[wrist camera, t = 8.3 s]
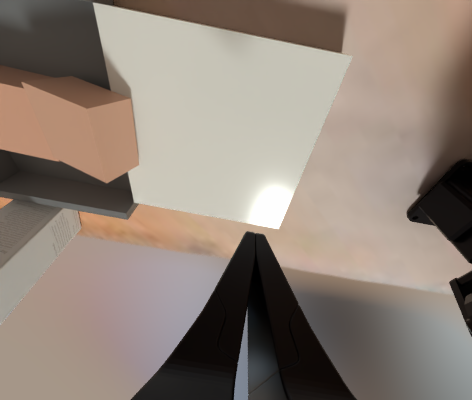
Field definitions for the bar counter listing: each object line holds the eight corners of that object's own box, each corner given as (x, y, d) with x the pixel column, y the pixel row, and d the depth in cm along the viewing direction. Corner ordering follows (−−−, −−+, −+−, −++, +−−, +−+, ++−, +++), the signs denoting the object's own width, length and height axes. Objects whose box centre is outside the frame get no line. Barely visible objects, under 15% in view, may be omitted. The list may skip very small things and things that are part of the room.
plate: (341, 52, 13) (352, 56, 11) (277, 214, 22) (278, 228, 20) (113, 5, 12) (92, 2, 11) (143, 190, 21) (134, 202, 20)
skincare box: (35, 181, 22) (-131, 293, 13) (79, 194, 23) (-47, 310, 13) (47, 219, 26) (-73, 326, 17) (85, 229, 27) (-10, 339, 17)
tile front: (130, 98, 13) (86, 108, 11) (139, 165, 17) (106, 183, 14) (71, 76, 14) (21, 81, 12) (91, 143, 18) (53, 157, 15)
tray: (110, -14, 12) (66, -26, 9) (144, 196, 22) (127, 219, 19) (-122, -63, 12) (-237, -90, 9) (20, 173, 22) (-15, 194, 19)
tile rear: (66, 80, 15) (30, 90, 13) (84, 144, 18) (59, 161, 16) (-7, 63, 15) (-57, 69, 12) (25, 131, 18) (-10, 146, 16)
